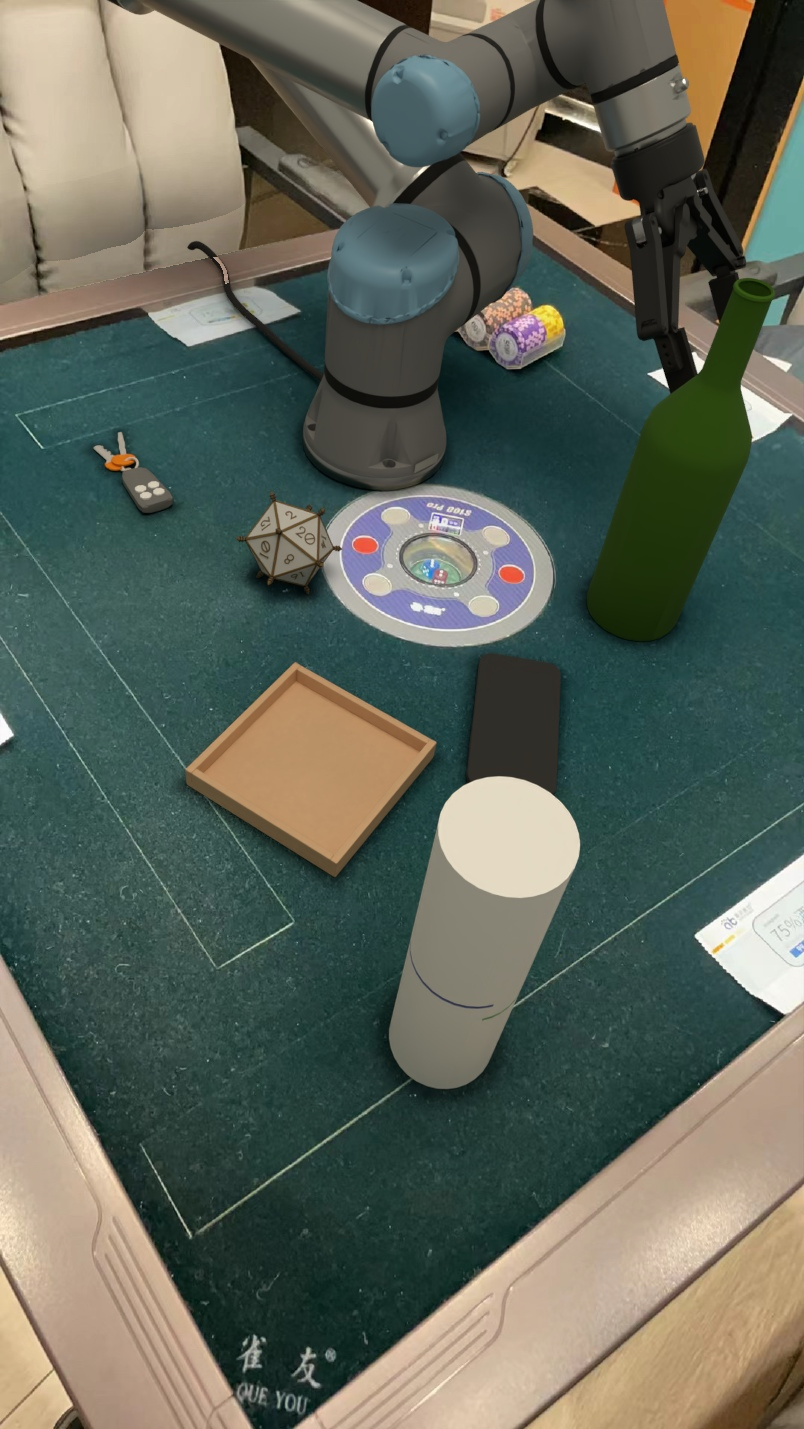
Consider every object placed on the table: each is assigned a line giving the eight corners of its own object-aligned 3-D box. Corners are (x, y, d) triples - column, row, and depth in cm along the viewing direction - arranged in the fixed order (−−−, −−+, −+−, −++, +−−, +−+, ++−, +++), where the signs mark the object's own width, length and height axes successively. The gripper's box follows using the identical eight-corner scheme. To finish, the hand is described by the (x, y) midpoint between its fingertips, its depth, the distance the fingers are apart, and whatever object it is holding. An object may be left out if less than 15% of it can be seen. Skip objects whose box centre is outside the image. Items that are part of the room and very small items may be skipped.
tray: (186, 784, 82) (185, 769, 81) (294, 677, 90) (295, 661, 89) (335, 877, 78) (336, 863, 77) (433, 757, 86) (436, 742, 85)
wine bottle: (694, 612, 101) (838, 294, 76) (642, 657, 96) (778, 334, 72) (620, 563, 105) (735, 244, 80) (566, 605, 100) (670, 279, 75)
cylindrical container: (385, 988, 73) (431, 776, 54) (485, 985, 74) (565, 776, 55) (393, 1091, 68) (446, 899, 49) (500, 1086, 69) (592, 896, 50)
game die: (305, 597, 102) (374, 532, 97) (273, 629, 95) (345, 559, 90) (240, 529, 101) (306, 459, 96) (202, 556, 93) (271, 481, 89)
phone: (562, 664, 94) (556, 799, 84) (560, 670, 94) (554, 805, 84) (480, 650, 94) (465, 783, 84) (478, 657, 94) (463, 789, 84)
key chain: (178, 506, 103) (177, 494, 102) (142, 517, 101) (141, 505, 100) (121, 434, 109) (120, 422, 108) (87, 443, 108) (85, 431, 106)
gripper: (630, 166, 81) (704, 420, 90) (741, 84, 95) (795, 310, 105) (549, 197, 86) (627, 435, 95) (666, 115, 101) (724, 328, 110)
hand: (715, 370), depth 100 cm, fingers open, 13 cm apart
